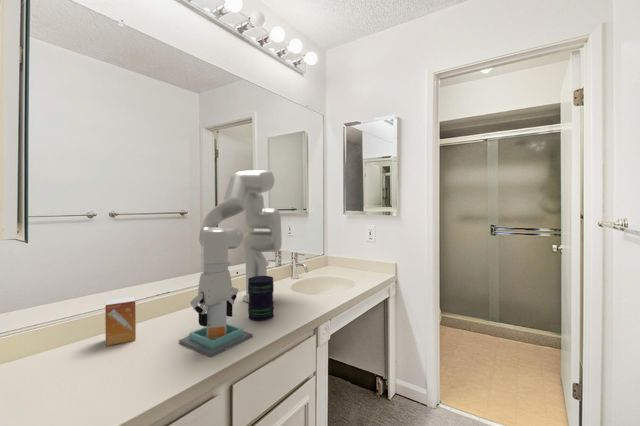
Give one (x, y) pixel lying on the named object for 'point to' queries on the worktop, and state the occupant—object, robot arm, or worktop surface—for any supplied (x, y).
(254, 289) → the storage jar
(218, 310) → the skincare box
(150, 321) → the worktop surface
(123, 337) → the small box
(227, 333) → the tray
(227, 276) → the robot arm
